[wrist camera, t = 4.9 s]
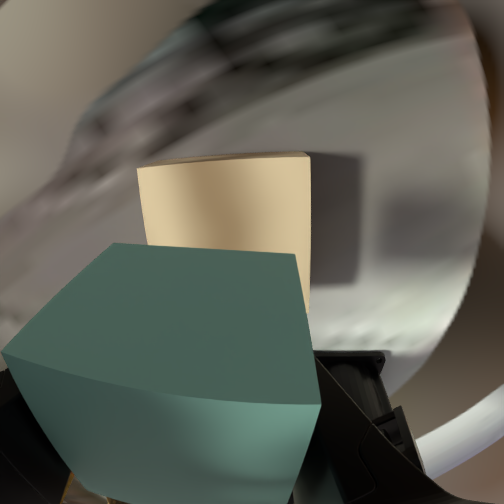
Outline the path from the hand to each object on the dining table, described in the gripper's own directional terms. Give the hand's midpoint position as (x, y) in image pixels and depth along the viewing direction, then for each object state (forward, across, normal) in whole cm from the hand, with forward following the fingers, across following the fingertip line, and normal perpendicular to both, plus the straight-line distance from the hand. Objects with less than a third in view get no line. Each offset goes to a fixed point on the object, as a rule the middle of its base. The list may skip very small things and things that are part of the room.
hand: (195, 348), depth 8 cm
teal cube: (+1, 0, 0) cm, 1 cm away
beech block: (+11, 0, 0) cm, 11 cm away
